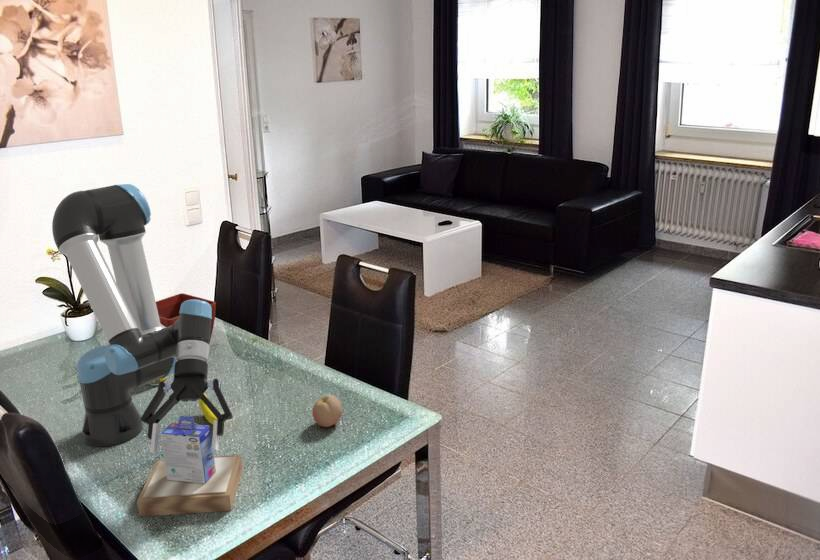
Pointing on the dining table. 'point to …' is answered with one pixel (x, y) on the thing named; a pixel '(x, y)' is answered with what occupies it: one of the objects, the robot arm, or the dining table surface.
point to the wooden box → (191, 490)
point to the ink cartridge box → (188, 451)
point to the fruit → (327, 411)
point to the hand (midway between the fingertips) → (184, 452)
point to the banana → (207, 412)
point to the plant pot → (178, 309)
